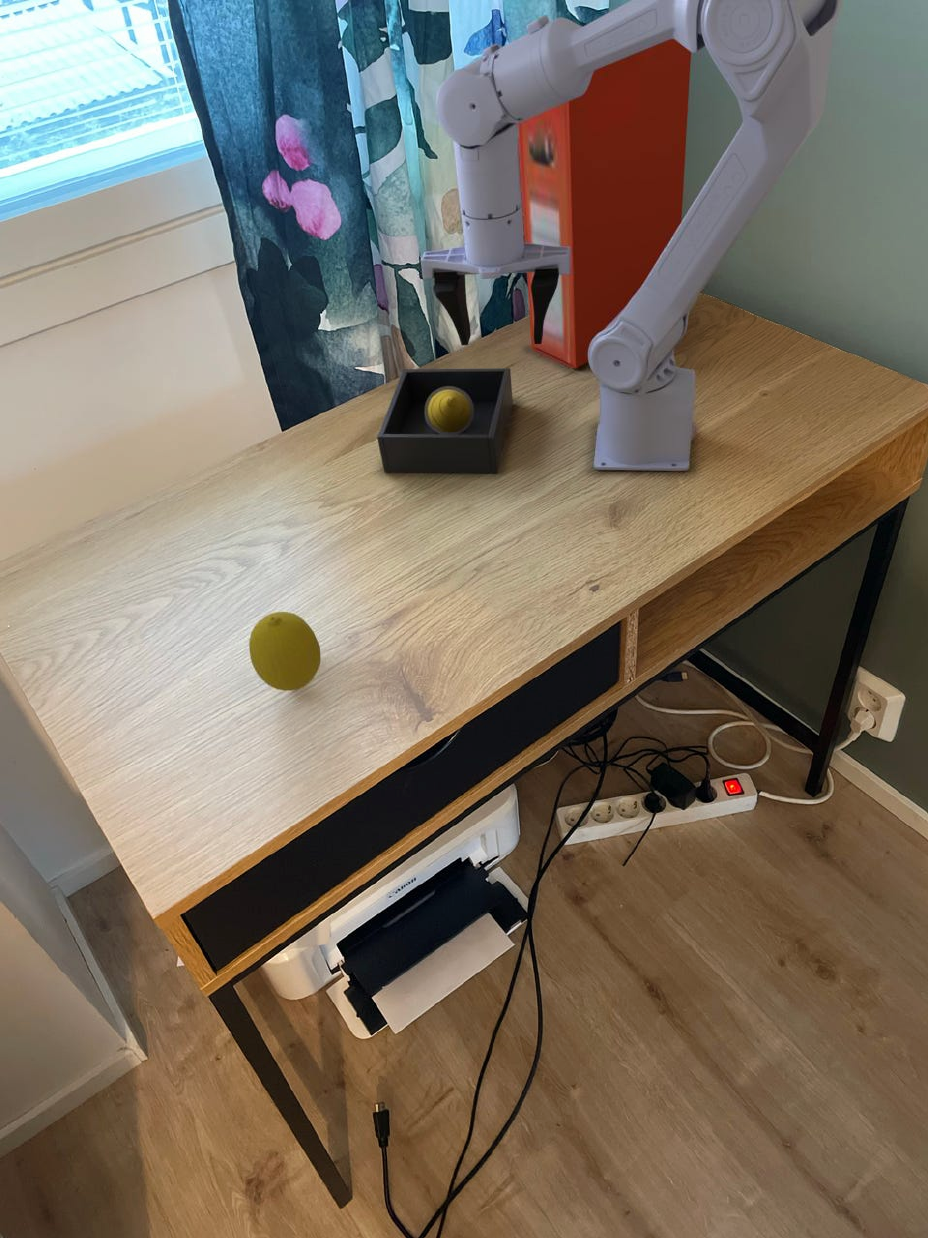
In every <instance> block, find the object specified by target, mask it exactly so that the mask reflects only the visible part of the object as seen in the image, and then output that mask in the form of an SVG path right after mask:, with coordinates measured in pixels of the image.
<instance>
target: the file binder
mask: <svg viewBox="0 0 928 1238" xmlns="http://www.w3.org/2000/svg"><path fill="white" fill-rule="evenodd" d="M691 63H692V52H690V51H689V50H688V49H687V48H685V47H684V46H683V45H681V44H680V43H679V42H678V41H676V40H675V39H670V40H667V41H665V42H662V43H660V44H657V45H655V46H653V47H650V48H648V49H645V50H643V51H640V52H638V53H636V54H633V55H631V56H628V57H626V58H623V59H621V60H618V61H616V62H614V63H611V64H609V65H606V66H604V67H601V68H599V69H597V70H594V72H593V75H592V78H591V80H590V83H589V86H588V88H587V90H586V91H585V93H584V94H583V95H582V96H580V97H578V98H576V99H573V100H571V101H569V102H566V103H564V104H562V105H559V106H557V107H555V108H553V109H550V110H548V111H546V112H543V113H541V114H539V115H537V116H534V117H532V118H530V119H528V120H526V121H523V122H521V123H519V138H518V156H519V171H520V188H521V204H522V221H523V237H524V242H526V243H533V244H541V245H549V246H570V247H571V268H570V274H568V275H560V274H559V279H558V284H557V288H556V290H555V293H554V295H553V297H552V299H551V302H550V304H549V307H548V310H547V313H546V316H545V320H544V326H543V338H542V343H541V344H534V309H533V300H532V293H531V284H532V279H533V276H534V272H532V273H526V280H527V294H528V295H527V297H528V311H529V325H530V343H531V348H532V350H533V351H535V352H536V353H538V354H541V355H543V356H545V357H548V358H549V359H551V360H554V361H556V362H558V363H560V364H562V365H564V366H566V367H568V368H570V369H572V370H574V369H578V368H580V367H582V366H584V365H586V364H588V363H589V361H588V349H589V346H590V343H591V341H592V340H593V338H594V337H595V336H596V335H597V334H598V333H600V332H601V331H603V330H604V329H605V328H606V327H607V326H608V325H609V324H610V323H611V322H612V321H613V320H614V318H615V317H616V316H617V315H618V314H619V313H620V312H621V311H622V310H623V309H624V308H625V307H626V306H627V305H628V303H629V301H630V300H631V299H632V297H633V296H634V295H635V294H636V293H637V291H638V290H639V289H640V287H641V286H642V285H643V283H644V282H645V280H646V278H647V277H648V275H649V274H650V272H651V270H652V269H653V267H654V265H655V264H656V262H657V261H658V259H659V257H660V256H661V254H662V253H663V251H664V249H665V248H666V246H667V245H668V243H669V241H670V240H671V238H672V236H673V235H674V233H675V232H676V230H677V228H678V227H679V225H680V224H681V222H682V220H683V204H684V203H683V201H684V187H685V184H684V183H685V168H686V166H685V165H686V151H687V150H686V149H687V133H688V116H689V115H688V114H689V100H690V99H689V98H690V82H691V81H690V79H691V65H692V64H691Z"/></svg>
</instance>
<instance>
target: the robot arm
mask: <svg viewBox="0 0 928 1238" xmlns="http://www.w3.org/2000/svg"><path fill="white" fill-rule="evenodd" d="M842 4H843V0H629V1H627V2H626V3H624V4H622V5H620V6H618V7H616V8H615V9H613V10H611V11H609V12H608V13H606V14H604V15H602V16H600V17H598V18H596V19H595V20H593V21H591V22H588V23H587V24H585V25H584V26H582V25H580V24H578V23H576V22H574V21H573V20H571V19H568V18H566V17H556V18H555V19H553V20H550V19H549V16H548V15H547V14H544V15H542V16H540V17H538V18H537V19H534V20H533V21H531V22H529V23H528V24H527V25H526V30H527V33H526V34H523V35H522V36H520V37H518V38H517V39H515V40H513V41H511V42H509V43H507V44H505V45H503V46H500V45H499V43H497V42H496V43H493V44H491V45H490V46H488V47H485V48H484V49H483V50H482V56H481V57H479V58H477V59H476V60H474V61H471V62H470V63H469V64H467V65H465V66H464V67H461V68H459V69H455V70H453V71H452V73H451V74H450V75H449V76H448V77H447V78H446V79H444V81H443V82H442V83H441V84H440V86H439V88H438V90H437V93H436V100H435V101H436V102H435V107H436V114H437V118H438V121H439V123H440V125H441V127H442V129H443V131H444V132H445V133H446V135H447V136H448V137H449V138H450V139H451V140H452V142H453V151H454V160H455V169H456V179H457V188H458V198H459V206H460V208H459V209H460V216H461V224H462V225H461V226H462V234H463V243H464V245H460V246H456V247H450V248H445V249H439V250H431V251H429V250H428V251H424V252H423V255H422V256H421V259H420V265H421V271H422V278H423V280H431V279H434V280H433V283H434V284H433V285H432V286H433V287H432V291H433V294H434V297H435V298H436V299H437V300H438V301H439V302H440V304H441V305H442V306H443V308H444V309H445V311H446V313H447V314H448V316H449V317H450V319H451V321H452V323H453V326H454V328H455V330H456V332H457V335H458V338H459V342H460V345H461V346H469V342H470V340H471V335H472V332H471V331H472V330H471V321H470V317H469V310H468V304H467V291H466V287H467V286H466V276H467V275H479V278H480V279H482V280H487V279H489V280H490V279H499V278H501V277H502V275H504V274H527V273H532V272H534V276H533V279H532V284H531V293H532V300H533V309H534V344H541V343H542V338H543V326H544V320H545V316H546V313H547V310H548V307H549V304H550V302H551V299H552V297H553V295H554V293H555V290H556V288H557V284H558V279H559V274H560V275H568V274H570V268H571V247H570V246H549V245H541V244H533V243H526V242H525V237H524V220H523V205H522V189H521V174H520V159H519V143H518V138H519V123H521V122H523V121H526V120H528V119H530V118H532V117H534V116H537V115H539V114H541V113H543V112H546V111H548V110H550V109H553V108H555V107H557V106H559V105H562V104H564V103H566V102H569V101H571V100H573V99H576V98H578V97H580V96H582V95H583V94H584V93H585V91H586V90H587V88H588V86H589V83H590V80H591V78H592V75H593V72H594V70H597V69H599V68H601V67H604V66H606V65H609V64H611V63H614V62H616V61H618V60H621V59H623V58H626V57H628V56H631V55H633V54H636V53H638V52H640V51H643V50H645V49H648V48H650V47H653V46H655V45H657V44H660V43H662V42H665V41H667V40H670V39H675V40H676V41H678V42H679V43H680V44H681V45H683V46H684V47H685V48H687V49H688V50H689V51H690V52H691V54H692V53H693V54H697V53H699V52H700V51H702V50H703V49H704V48H706V50H707V52H708V54H709V56H710V57H711V59H712V61H713V63H714V64H715V66H716V67H717V69H718V71H719V72H720V73H721V75H722V77H723V78H724V80H725V82H727V85H728V86H729V88H730V89H731V90H732V93H733V94H734V96H735V97H736V99H737V103H738V106H739V110H740V113H741V117H742V123H741V126H740V127H739V128H738V130H737V131H736V133H735V135H734V136H733V138H732V140H730V141H731V142H730V143H729V145H728V146H727V148H726V149H725V150H724V153H723V154H722V156H721V158H720V159H719V161H718V162H717V164H716V166H715V167H714V169H713V170H712V172H711V174H710V175H709V177H708V179H707V180H706V182H705V183H704V184H703V187H702V188H701V190H700V191H699V193H698V195H696V197H695V199H694V201H693V202H692V204H691V205H690V207H689V209H688V211H687V212H686V213H685V215H684V216H683V218H682V221H681V224H680V225H679V227H678V228H677V230H676V232H675V233H674V235H673V236H672V238H671V240H670V241H669V243H668V245H667V246H666V248H665V249H664V251H663V253H662V254H661V256H660V257H659V259H658V261H657V262H656V264H655V265H654V267H653V269H652V270H651V272H650V274H649V275H648V277H647V278H646V280H645V282H644V283H643V285H642V286H641V287H640V289H639V290H638V291H637V293H636V294H635V295H634V296H633V297H632V299H631V300H630V301H629V303H628V305H627V306H626V307H625V308H624V309H623V310H622V311H621V312H620V313H619V314H618V315H617V316H616V317H615V318H614V320H613V321H612V322H611V323H610V324H609V325H608V326H607V327H606V328H605V329H604V330H603V331H601V332H600V333H598V334H597V335H596V336H595V337H594V338H593V340H592V341H591V343H590V346H589V349H588V361H589V362H588V365H589V368H590V370H591V373H592V374H593V376H594V377H595V378H596V379H597V381H598V382H599V423H598V424H597V431H596V439H595V450H594V459H593V469H594V470H596V471H653V472H654V471H662V472H663V471H664V472H666V471H669V472H687V471H688V470H690V458H691V447H692V440H694V439H695V421H694V413H695V400H696V370H695V369H691V368H685V367H680V366H677V365H676V360H675V346H676V345H678V344H679V343H680V342H681V341H682V340H683V338H684V337H685V335H686V333H687V331H688V330H687V329H688V326H689V325H688V324H689V316H690V312H691V310H692V309H693V307H694V305H695V304H696V302H697V301H698V296H699V295H700V294H701V292H702V290H703V289H704V288H705V287H706V285H707V284H708V282H709V281H710V279H711V278H712V276H713V275H714V273H715V272H716V270H717V269H718V268H719V266H720V265H721V263H722V262H723V260H724V259H725V258H726V256H727V255H728V254H729V252H730V251H731V249H732V248H733V246H734V245H735V243H736V242H737V240H738V239H739V237H740V236H741V235H742V233H743V232H744V230H745V229H746V228H747V226H748V224H749V223H750V222H751V220H752V219H753V217H754V216H755V215H756V213H757V212H758V211H759V209H760V207H761V206H762V205H763V203H764V202H765V200H766V199H767V198H768V196H769V194H770V193H771V191H773V189H774V187H775V186H776V184H777V183H778V182H779V180H780V179H781V177H782V176H783V175H784V173H785V171H786V170H787V169H788V167H789V166H790V164H791V163H792V162H793V160H794V158H795V157H796V156H797V154H798V153H799V151H800V150H801V149H802V147H803V146H804V144H805V143H806V141H807V140H808V138H809V137H810V135H811V134H812V133H813V132H814V130H815V129H816V127H817V126H818V124H819V123H820V120H821V118H822V115H823V114H824V111H825V106H826V97H827V89H828V81H829V73H830V66H831V65H830V64H831V58H832V57H831V56H832V48H833V42H834V41H833V39H834V33H835V28H836V25H837V21H838V17H839V14H840V11H841V8H842Z"/></svg>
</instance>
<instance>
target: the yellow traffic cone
mask: <svg viewBox="0 0 928 1238" xmlns="http://www.w3.org/2000/svg"><path fill="white" fill-rule="evenodd" d="M424 413H425V419H426V422H427V424H428V426H429V427H430V429H431V430H432V431H433V432H435V433H436V434H462V433H464V432H465V431H466V430H467V429H468V428H469V426H470V425H471V423H472V420H473V416H474V407H473V403H472V401H471V399H470V397H469V396H468V395H467V393H465V392H464V391H463V390H461V389H459V388H457V387H453V386H445V387H441V388H439V389H437V390H435V391H434V392H433V393H431V395H430V396H429V397H428V399H427V401H426V404H425V412H424Z"/></svg>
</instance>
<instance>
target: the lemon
mask: <svg viewBox="0 0 928 1238" xmlns="http://www.w3.org/2000/svg"><path fill="white" fill-rule="evenodd" d="M248 647H249V648H248V649H249V656H250V661H251V665H252V666H253V668H254V670H255V672H256V674H257V676H259V678H260V679H261V680H262V681H263V682H264V683H265V684H266V685H268V686H269V687H272V688H273V689H275V690H278V691H279V690H280V691H287V692H288V691H295V690H299V689H301V688H304V687H305V686H307V685H308V684H310V683H311V681H313V679H314V678H315V677H316V675H317V673H318V671H319V668H320V666H321V646H320V643H319V640H318V638H317V636H316V634H315V632H314V630H313V629H312V627H311V626H310V625H309V624H308V622H307V621H305V619H304V618H302V617H301V616H299V615H297V614H295V613H291V612H288V611H277V612H273V613H269V614H267V615H265V616H263V617H262V618H261V619H259V621H258V622H257V623H256V624H255V625H254V627H253V629H252V631H251V632H250V638H249V643H248Z"/></svg>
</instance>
